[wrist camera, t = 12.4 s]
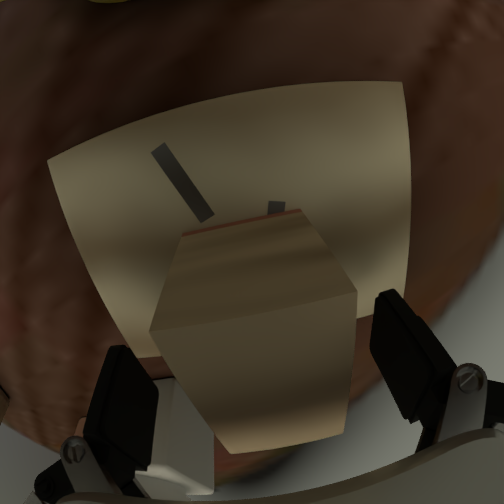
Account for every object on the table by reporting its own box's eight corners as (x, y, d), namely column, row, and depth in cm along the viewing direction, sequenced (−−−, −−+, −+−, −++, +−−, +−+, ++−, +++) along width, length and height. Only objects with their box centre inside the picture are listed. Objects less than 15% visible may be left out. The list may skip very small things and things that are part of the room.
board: (58, 156, 10) (46, 160, 9) (390, 83, 10) (402, 82, 9) (140, 346, 16) (137, 358, 15) (394, 295, 15) (402, 304, 14)
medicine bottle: (146, 427, 21) (133, 537, 10) (99, 384, 18) (65, 516, 7) (215, 421, 20) (218, 548, 10) (175, 374, 17) (159, 543, 6)
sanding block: (182, 233, 12) (148, 331, 6) (300, 208, 11) (357, 290, 6) (227, 359, 15) (230, 453, 10) (314, 342, 15) (343, 433, 10)
